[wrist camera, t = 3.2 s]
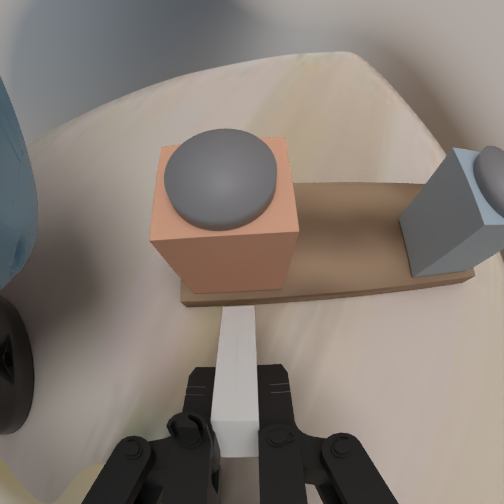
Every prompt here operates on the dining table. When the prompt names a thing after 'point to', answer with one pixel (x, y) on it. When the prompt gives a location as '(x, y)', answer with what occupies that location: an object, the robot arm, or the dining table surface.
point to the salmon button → (226, 211)
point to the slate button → (457, 214)
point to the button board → (342, 248)
